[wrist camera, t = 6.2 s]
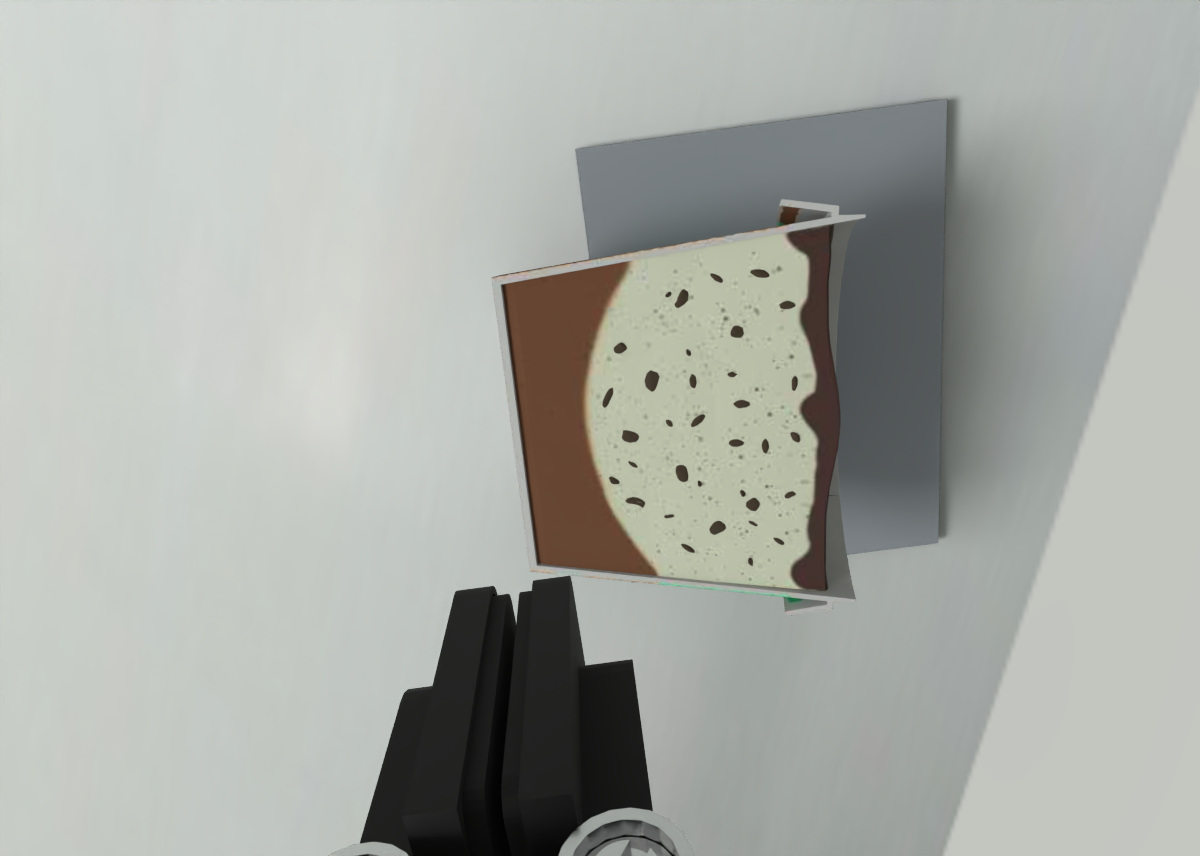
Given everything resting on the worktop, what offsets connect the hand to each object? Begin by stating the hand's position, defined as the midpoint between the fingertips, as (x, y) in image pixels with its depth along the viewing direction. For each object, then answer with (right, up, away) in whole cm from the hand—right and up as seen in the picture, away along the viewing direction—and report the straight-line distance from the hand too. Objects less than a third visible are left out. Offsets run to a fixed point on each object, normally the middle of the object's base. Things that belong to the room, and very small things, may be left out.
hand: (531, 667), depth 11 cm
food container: (-1, +4, +15) cm, 15 cm away
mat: (+7, +6, +16) cm, 19 cm away
